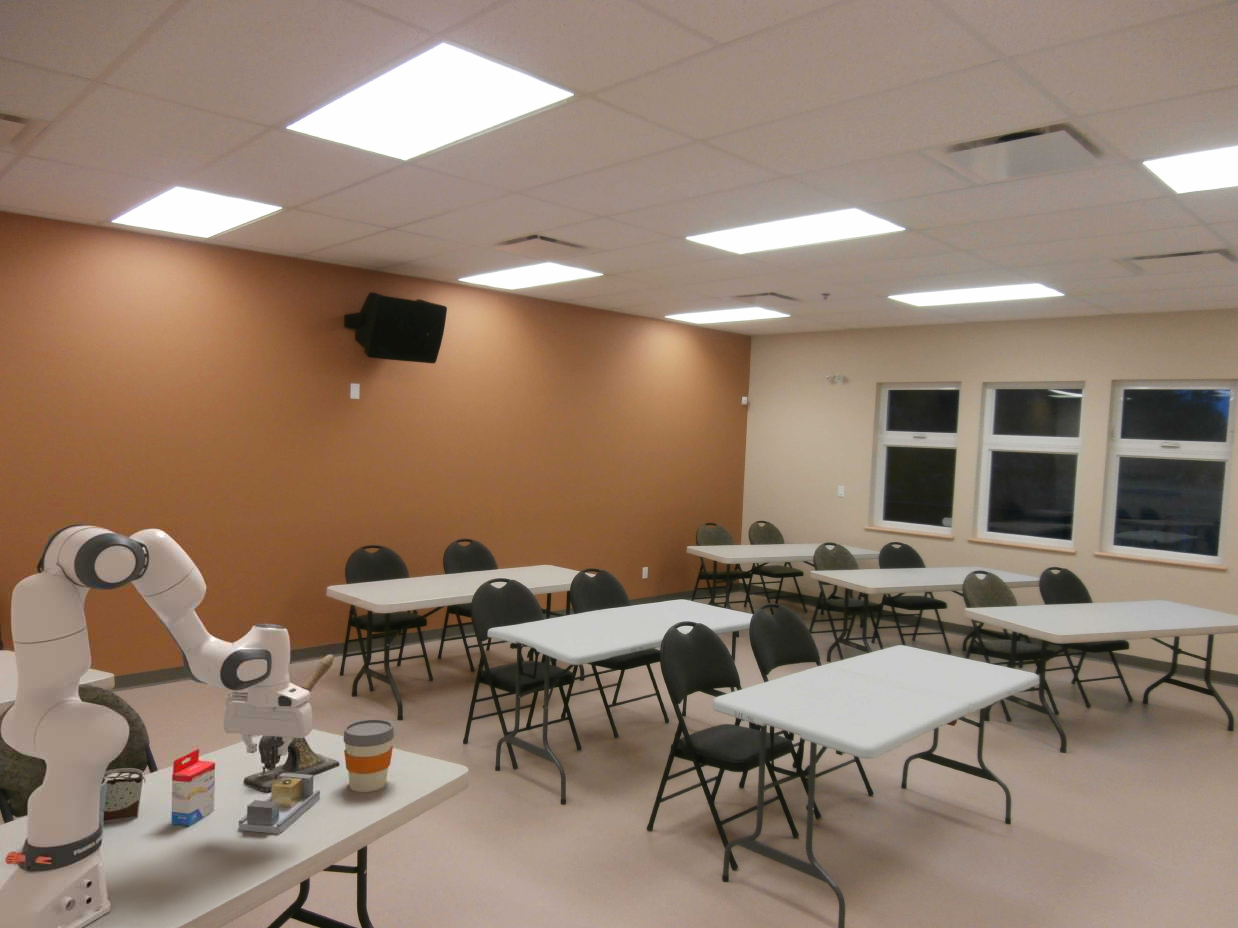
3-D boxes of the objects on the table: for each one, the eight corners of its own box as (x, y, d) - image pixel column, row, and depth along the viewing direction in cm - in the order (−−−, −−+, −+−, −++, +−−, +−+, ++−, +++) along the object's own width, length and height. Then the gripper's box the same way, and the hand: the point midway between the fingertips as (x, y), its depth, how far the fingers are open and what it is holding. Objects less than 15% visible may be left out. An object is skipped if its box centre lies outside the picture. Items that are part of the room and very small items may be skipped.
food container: (149, 805, 189) (149, 764, 189) (144, 816, 184) (145, 774, 183) (89, 813, 185) (89, 771, 184) (82, 824, 179) (83, 781, 179)
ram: (271, 825, 177) (271, 807, 177) (246, 823, 178) (247, 805, 178) (281, 816, 181) (282, 799, 181) (257, 814, 182) (257, 797, 182)
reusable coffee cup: (355, 772, 211) (356, 717, 210) (400, 775, 209) (401, 720, 209) (333, 793, 198) (334, 734, 198) (381, 796, 197) (382, 737, 197)
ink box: (189, 826, 179) (189, 763, 179) (170, 824, 180) (171, 760, 180) (215, 810, 188) (216, 749, 187) (197, 807, 189) (198, 747, 188)
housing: (301, 798, 191) (302, 777, 191) (290, 808, 186) (291, 786, 186) (282, 797, 192) (282, 776, 192) (271, 806, 187) (271, 784, 187)
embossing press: (240, 783, 203) (242, 668, 202) (321, 755, 222) (323, 650, 222) (264, 794, 197) (266, 676, 196) (345, 765, 216) (347, 657, 216)
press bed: (279, 833, 177) (280, 804, 177) (238, 829, 178) (239, 801, 178) (319, 798, 195) (320, 772, 195) (282, 795, 196) (282, 769, 196)
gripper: (218, 694, 178) (216, 755, 178) (302, 700, 176) (301, 761, 176) (234, 686, 185) (233, 745, 185) (316, 692, 182) (315, 751, 182)
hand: (267, 753), depth 180 cm, fingers open, 6 cm apart
